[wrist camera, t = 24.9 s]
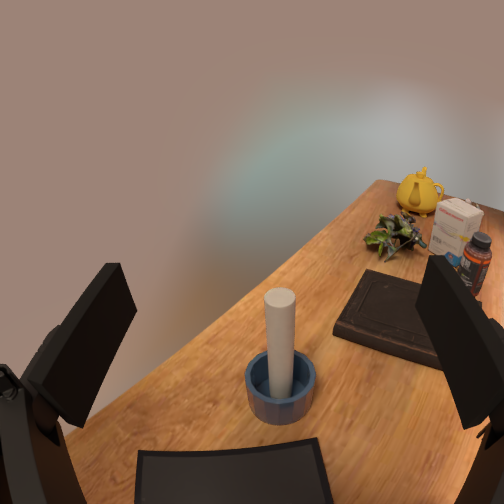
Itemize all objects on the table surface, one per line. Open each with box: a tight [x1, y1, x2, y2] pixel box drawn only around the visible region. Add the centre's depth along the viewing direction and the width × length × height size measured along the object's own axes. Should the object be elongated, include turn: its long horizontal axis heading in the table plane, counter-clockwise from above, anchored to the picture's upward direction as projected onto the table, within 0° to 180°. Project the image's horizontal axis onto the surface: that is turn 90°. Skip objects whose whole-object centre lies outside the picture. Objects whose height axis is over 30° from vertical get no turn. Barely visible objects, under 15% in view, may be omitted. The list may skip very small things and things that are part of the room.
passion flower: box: [363, 211, 427, 262], centre depth 56 cm, size 11×11×12 cm
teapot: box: [396, 167, 444, 217], centre depth 73 cm, size 20×15×12 cm
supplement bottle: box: [457, 232, 492, 296], centre depth 43 cm, size 6×6×11 cm
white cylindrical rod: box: [264, 287, 296, 399], centre depth 29 cm, size 3×3×16 cm
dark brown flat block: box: [333, 269, 482, 370], centre depth 40 cm, size 16×23×2 cm
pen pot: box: [245, 350, 316, 425], centre depth 32 cm, size 8×8×6 cm
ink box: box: [428, 198, 483, 267], centre depth 53 cm, size 9×8×12 cm
